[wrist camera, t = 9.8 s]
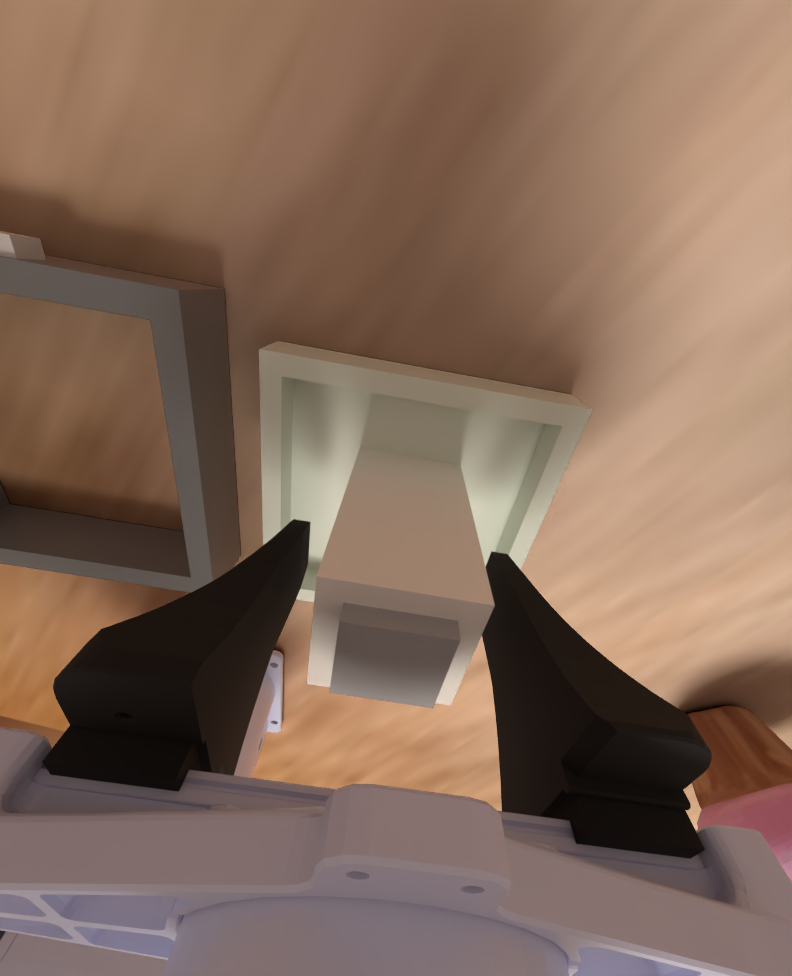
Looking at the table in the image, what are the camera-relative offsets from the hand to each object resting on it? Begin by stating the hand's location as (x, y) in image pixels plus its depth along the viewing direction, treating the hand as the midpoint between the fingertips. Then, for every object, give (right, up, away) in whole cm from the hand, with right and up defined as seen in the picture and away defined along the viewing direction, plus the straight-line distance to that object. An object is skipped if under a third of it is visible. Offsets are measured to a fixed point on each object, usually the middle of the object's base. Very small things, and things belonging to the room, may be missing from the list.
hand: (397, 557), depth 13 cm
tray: (0, +2, +4) cm, 5 cm away
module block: (0, +2, +4) cm, 4 cm away
